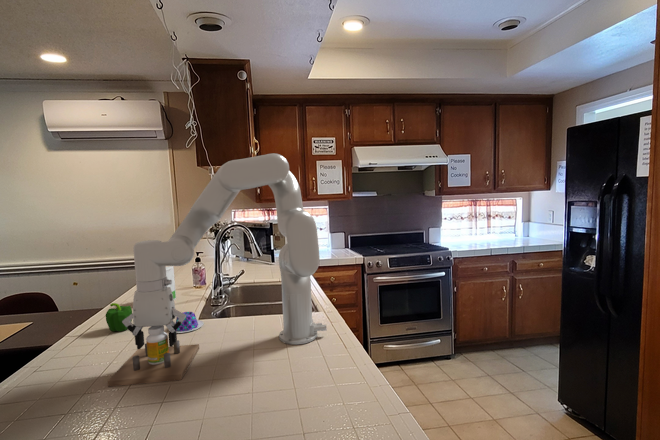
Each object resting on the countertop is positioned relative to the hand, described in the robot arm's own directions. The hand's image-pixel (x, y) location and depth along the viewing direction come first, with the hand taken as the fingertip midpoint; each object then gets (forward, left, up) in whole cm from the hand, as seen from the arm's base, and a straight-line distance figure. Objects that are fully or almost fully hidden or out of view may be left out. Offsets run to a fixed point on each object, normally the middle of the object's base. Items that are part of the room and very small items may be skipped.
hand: (156, 345), depth 97 cm
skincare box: (+19, -62, -6) cm, 65 cm away
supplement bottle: (0, 0, -5) cm, 5 cm away
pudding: (0, -28, -6) cm, 29 cm away
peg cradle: (0, 0, -6) cm, 6 cm away
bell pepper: (+24, -31, -6) cm, 40 cm away
